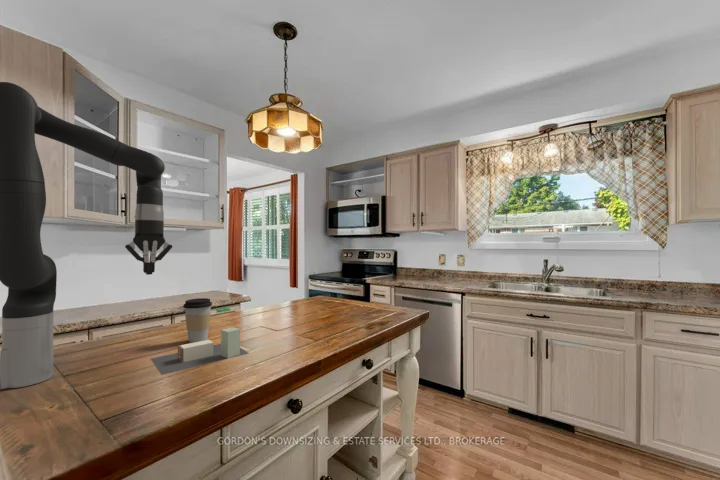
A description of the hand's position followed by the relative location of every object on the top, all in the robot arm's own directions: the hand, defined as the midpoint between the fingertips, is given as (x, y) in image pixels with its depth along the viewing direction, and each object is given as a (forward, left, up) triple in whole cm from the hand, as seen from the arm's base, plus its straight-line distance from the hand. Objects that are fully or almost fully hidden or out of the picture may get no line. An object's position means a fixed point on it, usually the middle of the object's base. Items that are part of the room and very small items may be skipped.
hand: (149, 274), depth 100 cm
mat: (+12, -13, -26) cm, 31 cm away
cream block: (+6, -13, -23) cm, 27 cm away
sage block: (+19, -18, -25) cm, 36 cm away
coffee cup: (+16, +5, -26) cm, 31 cm away
